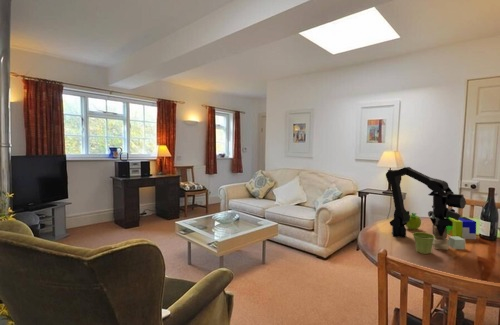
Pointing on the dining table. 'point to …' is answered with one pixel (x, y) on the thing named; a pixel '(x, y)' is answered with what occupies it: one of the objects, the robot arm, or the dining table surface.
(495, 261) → the dining table surface
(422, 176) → the robot arm
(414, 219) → the fruit
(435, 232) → the walnut block
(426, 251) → the plant pot
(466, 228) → the puzzle toy
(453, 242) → the sage block
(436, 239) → the oak block
